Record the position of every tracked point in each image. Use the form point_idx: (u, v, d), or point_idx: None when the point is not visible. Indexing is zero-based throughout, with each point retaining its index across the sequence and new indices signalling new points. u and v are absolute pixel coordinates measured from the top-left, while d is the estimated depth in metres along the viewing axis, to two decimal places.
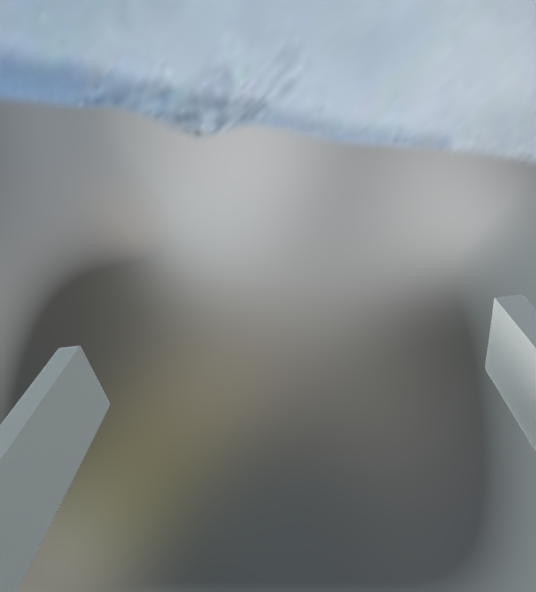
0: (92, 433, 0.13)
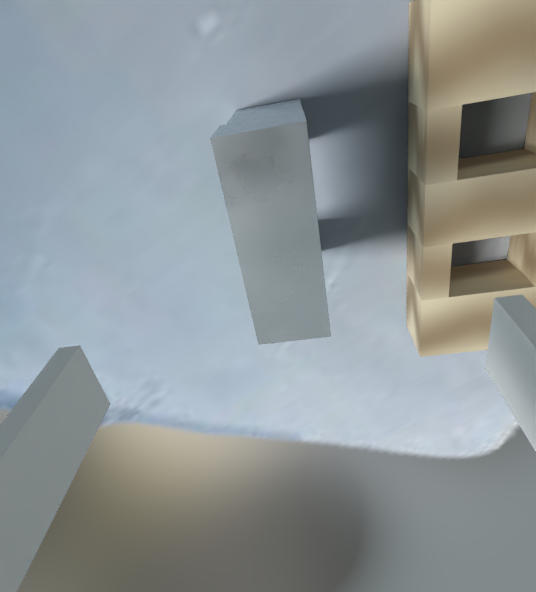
0: (92, 433, 0.13)
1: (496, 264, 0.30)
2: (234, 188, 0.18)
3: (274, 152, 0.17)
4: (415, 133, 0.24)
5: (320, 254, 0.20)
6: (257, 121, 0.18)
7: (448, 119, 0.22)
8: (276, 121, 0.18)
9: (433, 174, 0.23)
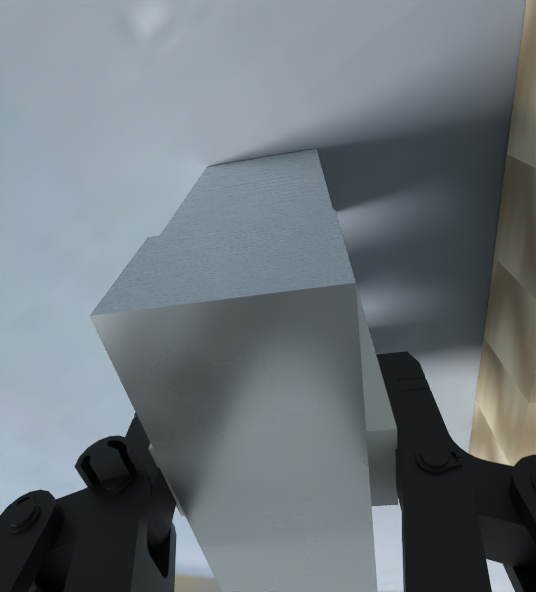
0: None
1: None
2: (166, 415, 0.07)
3: (266, 349, 0.06)
4: (524, 213, 0.13)
5: (369, 523, 0.09)
6: (227, 240, 0.08)
7: None
8: (271, 255, 0.07)
9: None
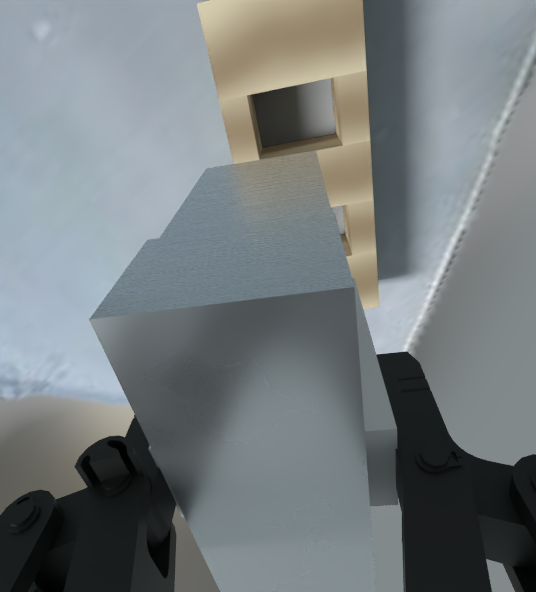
0: None
1: None
2: (165, 418, 0.07)
3: (265, 353, 0.06)
4: None
5: (368, 525, 0.09)
6: (226, 243, 0.08)
7: (238, 108, 0.25)
8: (270, 259, 0.07)
9: (238, 156, 0.27)
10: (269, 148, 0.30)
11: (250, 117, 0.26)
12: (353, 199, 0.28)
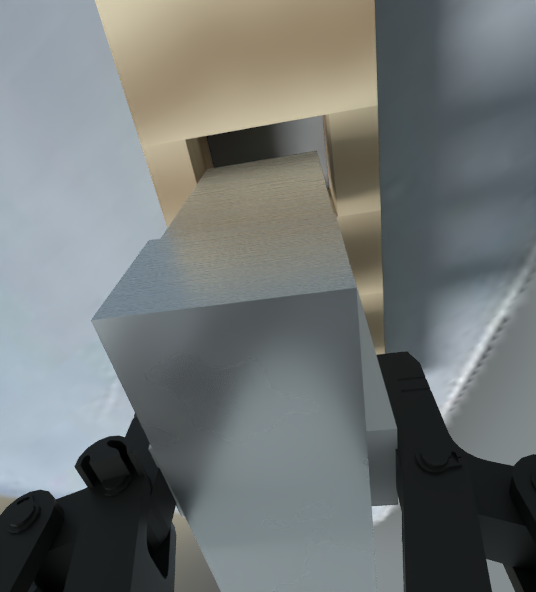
0: None
1: None
2: (167, 418, 0.07)
3: (267, 353, 0.06)
4: None
5: (370, 526, 0.09)
6: (228, 244, 0.08)
7: (173, 158, 0.16)
8: (272, 259, 0.07)
9: None
10: None
11: (193, 172, 0.16)
12: None
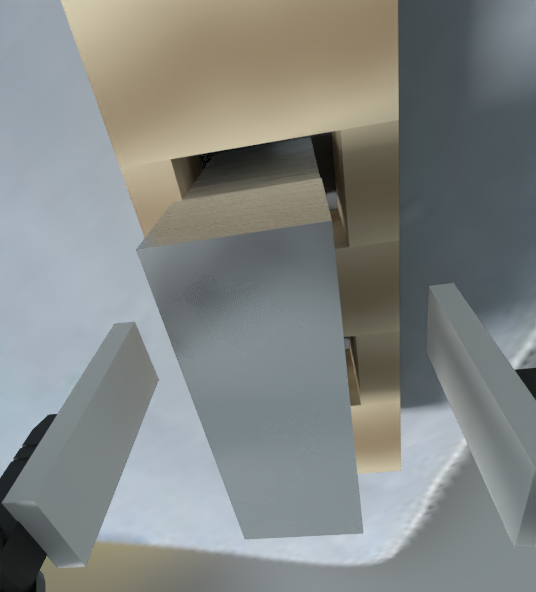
0: (146, 405, 0.14)
1: None
2: (190, 333, 0.09)
3: (267, 275, 0.09)
4: None
5: (350, 431, 0.11)
6: (236, 201, 0.10)
7: (157, 181, 0.14)
8: (270, 208, 0.09)
9: None
10: None
11: (180, 196, 0.14)
12: (365, 328, 0.16)
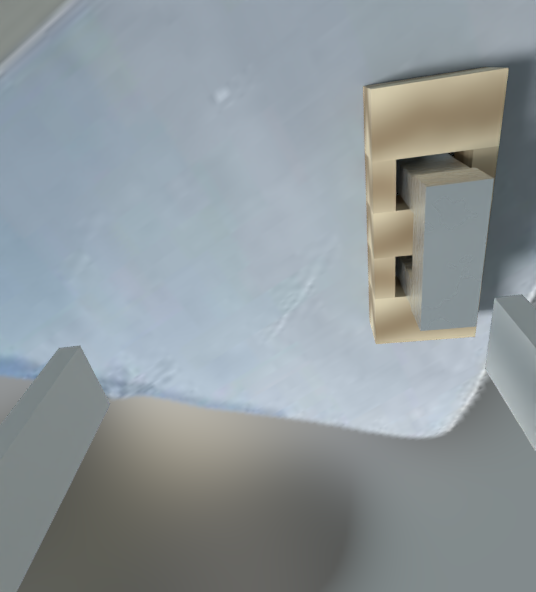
0: (92, 433, 0.13)
1: None
2: (433, 220, 0.26)
3: (467, 197, 0.26)
4: (368, 176, 0.33)
5: (482, 266, 0.28)
6: (446, 174, 0.27)
7: (387, 169, 0.31)
8: (465, 176, 0.26)
9: (378, 206, 0.32)
10: None
11: (395, 176, 0.31)
12: None
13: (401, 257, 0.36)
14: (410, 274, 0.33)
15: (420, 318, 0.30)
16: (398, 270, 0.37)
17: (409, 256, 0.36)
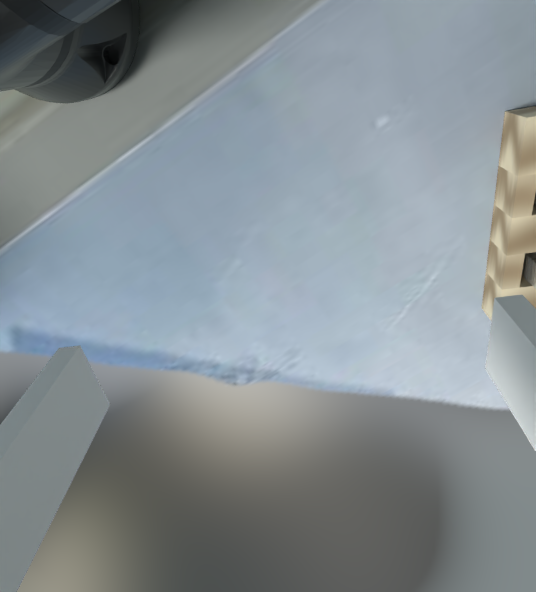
0: (92, 433, 0.13)
1: None
2: None
3: None
4: (504, 186, 0.40)
5: None
6: None
7: (529, 181, 0.37)
8: None
9: (517, 212, 0.39)
10: None
11: (535, 187, 0.37)
12: None
13: (525, 253, 0.42)
14: None
15: None
16: None
17: (532, 252, 0.42)
